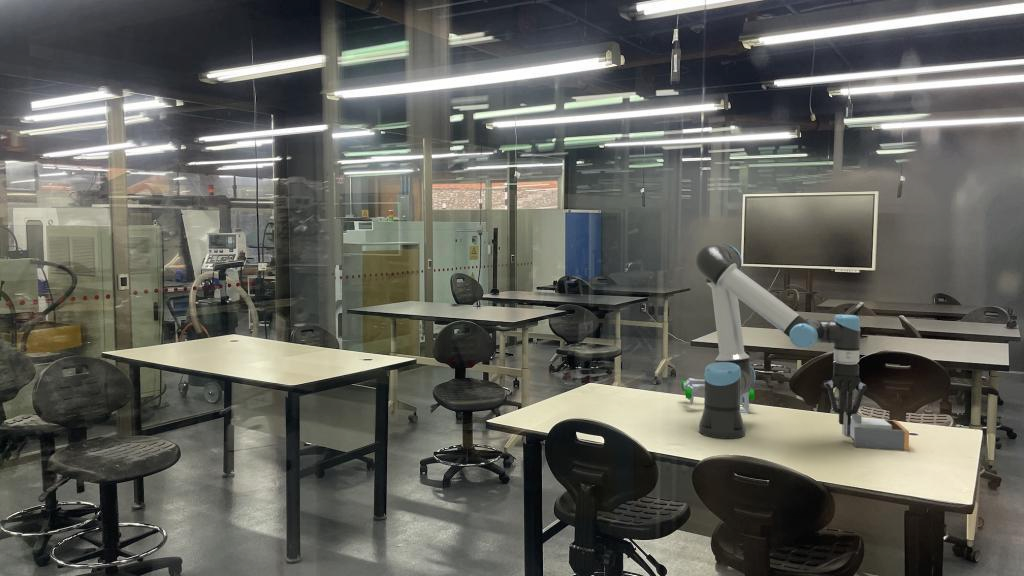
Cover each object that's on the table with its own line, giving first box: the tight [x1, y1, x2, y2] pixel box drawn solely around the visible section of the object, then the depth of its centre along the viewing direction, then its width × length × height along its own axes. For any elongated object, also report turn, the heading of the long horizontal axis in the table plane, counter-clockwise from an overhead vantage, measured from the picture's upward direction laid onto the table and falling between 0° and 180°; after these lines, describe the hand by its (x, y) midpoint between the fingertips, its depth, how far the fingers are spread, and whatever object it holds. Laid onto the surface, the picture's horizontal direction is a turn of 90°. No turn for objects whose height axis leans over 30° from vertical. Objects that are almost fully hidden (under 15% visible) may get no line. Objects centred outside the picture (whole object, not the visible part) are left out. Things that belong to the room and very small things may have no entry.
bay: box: [844, 419, 910, 452], centre depth 220 cm, size 15×14×6 cm
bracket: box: [681, 377, 755, 414], centre depth 269 cm, size 19×25×10 cm
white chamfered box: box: [849, 412, 892, 441], centre depth 220 cm, size 10×8×9 cm
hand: (844, 434), depth 222 cm, fingers closed
